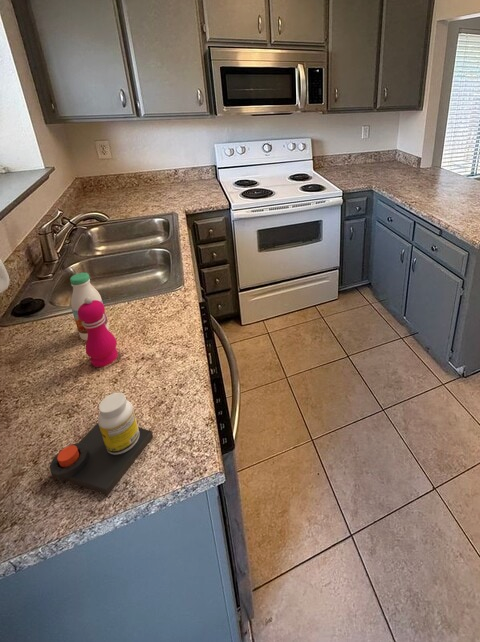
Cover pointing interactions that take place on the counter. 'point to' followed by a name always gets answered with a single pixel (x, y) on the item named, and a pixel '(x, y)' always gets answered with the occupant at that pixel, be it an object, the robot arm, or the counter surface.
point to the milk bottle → (80, 293)
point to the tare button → (68, 456)
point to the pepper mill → (97, 333)
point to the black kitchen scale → (99, 462)
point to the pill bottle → (117, 423)
